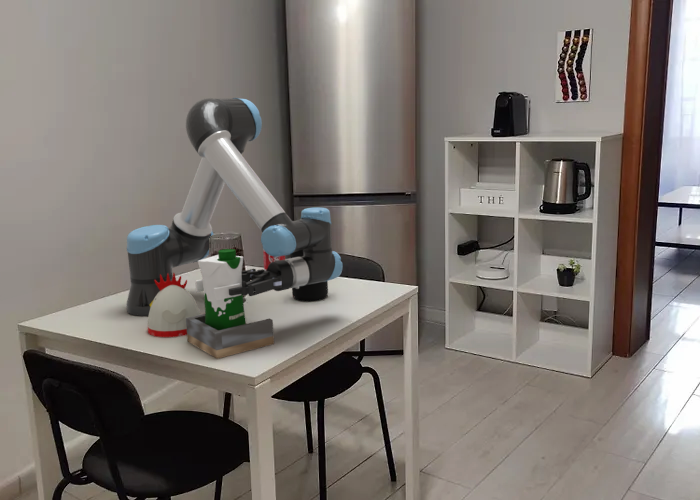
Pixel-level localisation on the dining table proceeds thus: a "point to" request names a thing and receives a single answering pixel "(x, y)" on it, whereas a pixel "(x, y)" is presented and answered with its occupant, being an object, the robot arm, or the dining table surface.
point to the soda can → (270, 259)
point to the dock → (229, 336)
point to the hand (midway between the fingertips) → (205, 290)
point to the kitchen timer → (171, 309)
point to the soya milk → (220, 274)
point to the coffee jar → (309, 287)
